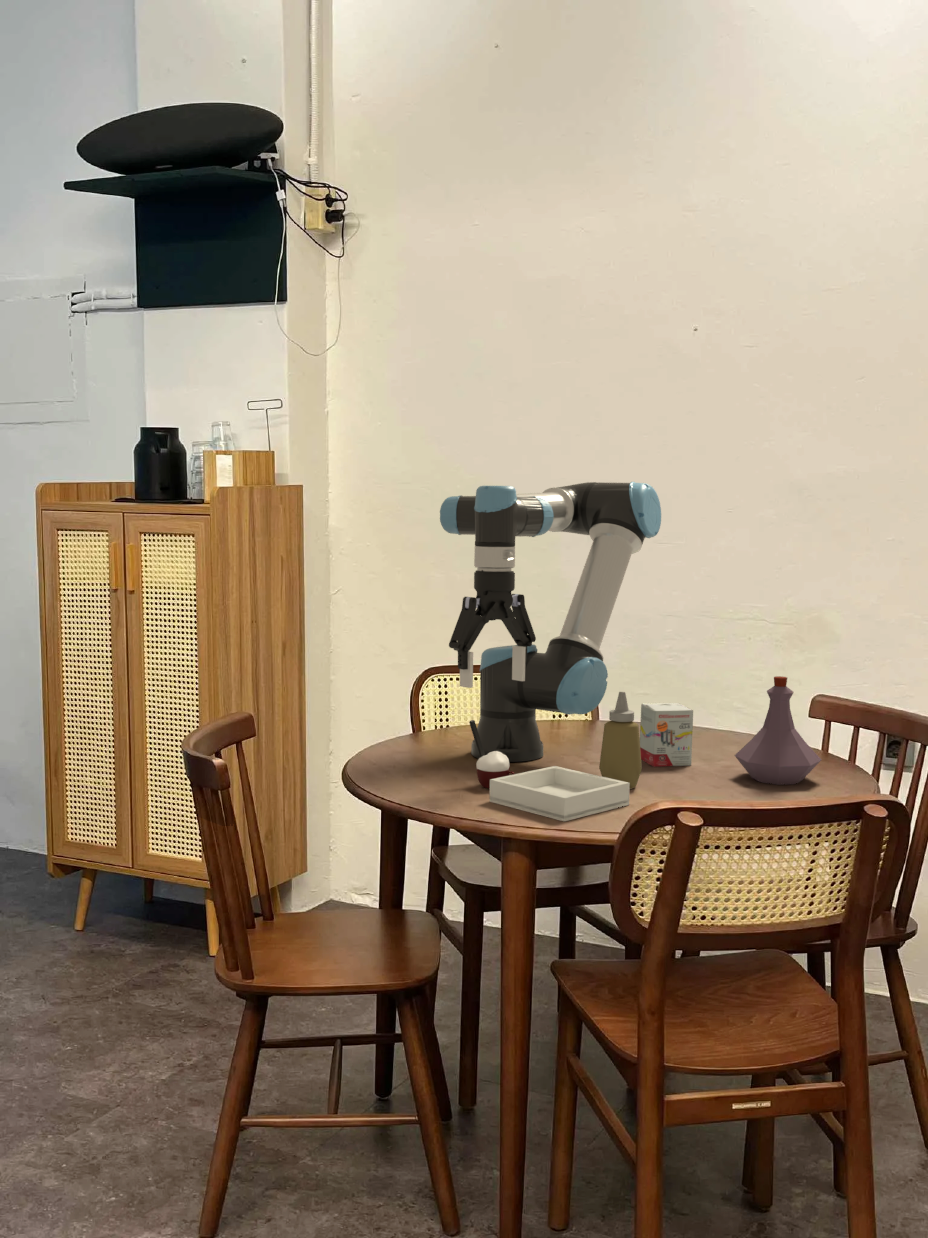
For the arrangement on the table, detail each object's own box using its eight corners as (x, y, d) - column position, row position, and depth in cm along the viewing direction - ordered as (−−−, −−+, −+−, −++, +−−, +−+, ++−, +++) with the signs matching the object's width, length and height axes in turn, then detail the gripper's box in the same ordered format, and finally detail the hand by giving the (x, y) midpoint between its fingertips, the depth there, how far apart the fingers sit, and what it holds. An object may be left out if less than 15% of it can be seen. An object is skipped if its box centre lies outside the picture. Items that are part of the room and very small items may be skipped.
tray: (554, 786, 234) (554, 765, 234) (629, 805, 221) (629, 782, 221) (489, 801, 223) (489, 779, 222) (564, 821, 210) (564, 798, 209)
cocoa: (519, 791, 233) (524, 727, 231) (493, 794, 229) (498, 730, 228) (487, 779, 240) (491, 718, 239) (461, 782, 236) (466, 720, 235)
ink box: (652, 767, 252) (654, 709, 251) (638, 758, 260) (639, 702, 259) (692, 765, 254) (694, 708, 253) (677, 757, 262) (678, 701, 261)
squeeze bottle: (595, 782, 239) (597, 688, 237) (636, 781, 239) (639, 688, 237) (602, 792, 231) (604, 695, 229) (645, 791, 231) (648, 695, 229)
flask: (715, 776, 245) (719, 675, 243) (774, 766, 254) (777, 669, 252) (779, 793, 231) (783, 686, 229) (839, 782, 240) (843, 679, 238)
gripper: (458, 572, 219) (457, 692, 221) (555, 568, 236) (553, 679, 238) (430, 570, 224) (429, 687, 226) (527, 566, 241) (525, 675, 243)
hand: (492, 683), depth 232 cm, fingers open, 13 cm apart
